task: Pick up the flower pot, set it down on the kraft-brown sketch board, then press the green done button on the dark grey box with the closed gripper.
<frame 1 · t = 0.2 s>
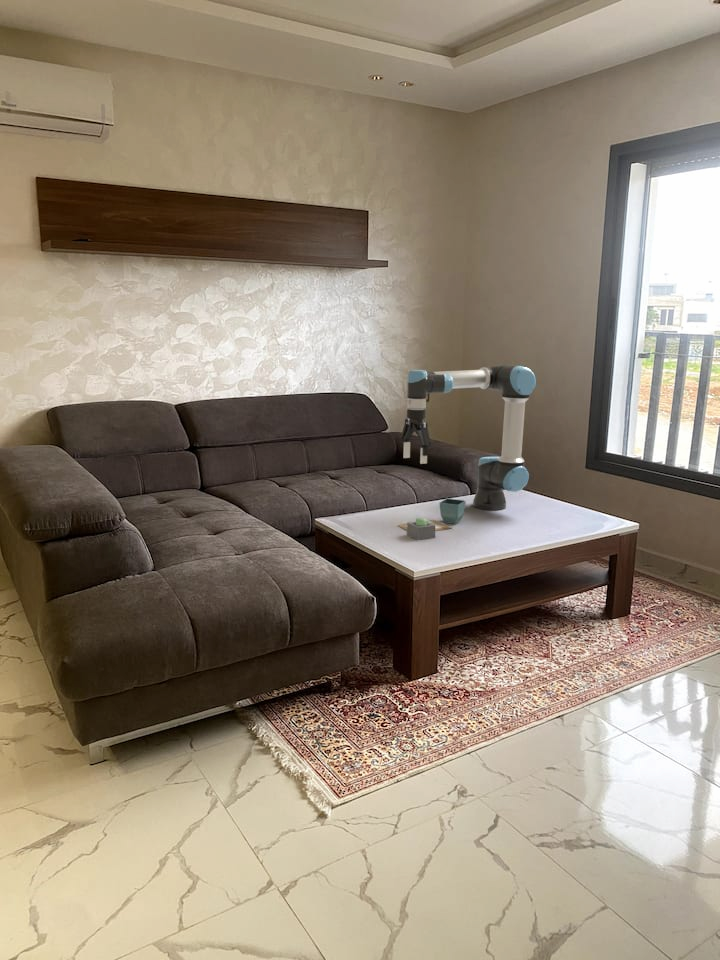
hand: (414, 460, 307), 27 cm above the table, fingers open, 13 cm apart
done button: (421, 525, 296), point 5 cm above the table, slide at 0.0 cm
sketch board: (424, 527, 310), on the table
flower pot: (451, 522, 319), on the table
button box: (420, 536, 297), on the table
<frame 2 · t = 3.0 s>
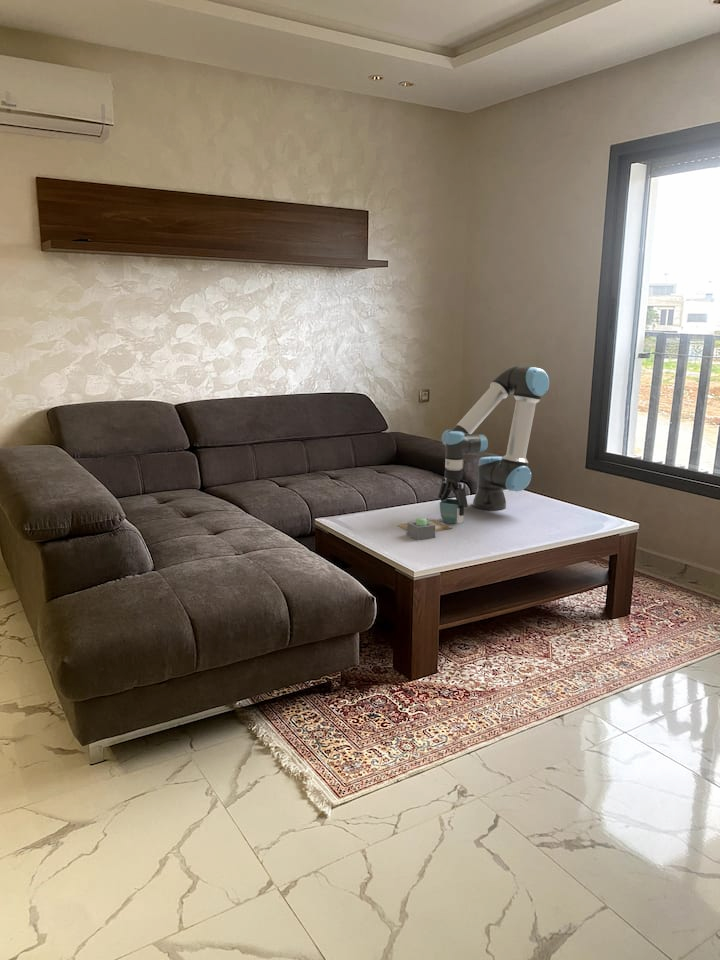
hand: (451, 519, 318), 1 cm above the table, fingers closed on flower pot, 11 cm apart
flower pot: (451, 522, 318), on the table, touching gripper
everything else where it was.
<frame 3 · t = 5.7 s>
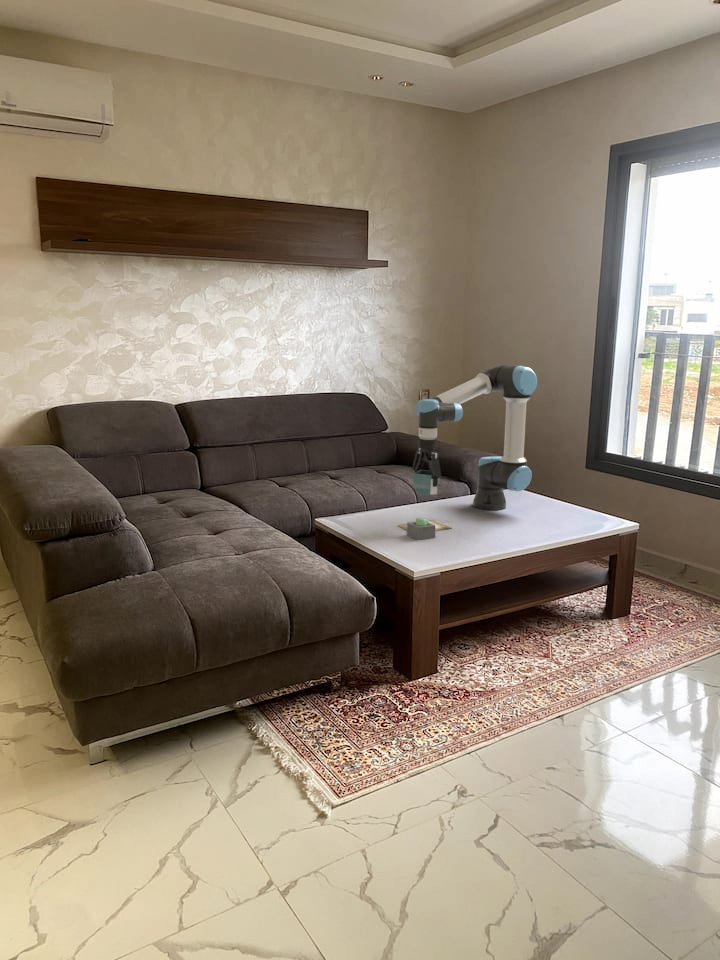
hand: (425, 491, 307), 15 cm above the table, fingers closed on flower pot, 11 cm apart
flower pot: (425, 494, 307), point 14 cm above the table, touching gripper
everything else where it was.
when the fingers open (3 cm above the table, at t = 8.5 s): flower pot moves 2 cm, resting on sketch board.
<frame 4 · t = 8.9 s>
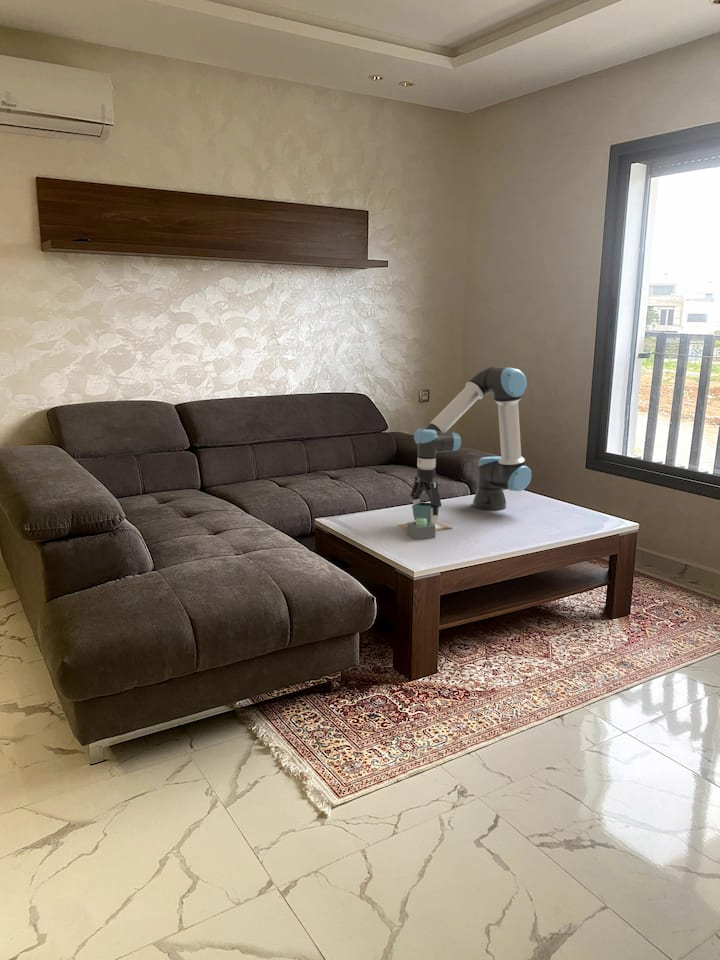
hand: (424, 518, 309), 4 cm above the table, fingers open, 13 cm apart
flower pot: (425, 526, 308), point 1 cm above the table, touching gripper, sketch board
everything else where it was.
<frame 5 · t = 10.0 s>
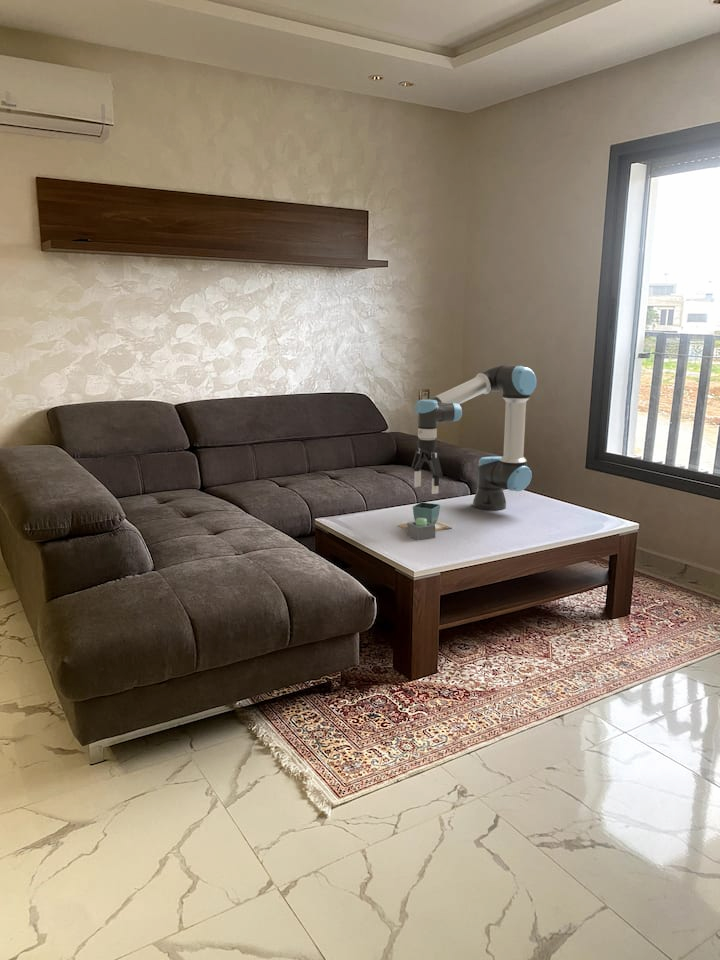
hand: (426, 490, 306), 16 cm above the table, fingers open, 13 cm apart
flower pot: (425, 527, 308), resting on sketch board
everything else where it was.
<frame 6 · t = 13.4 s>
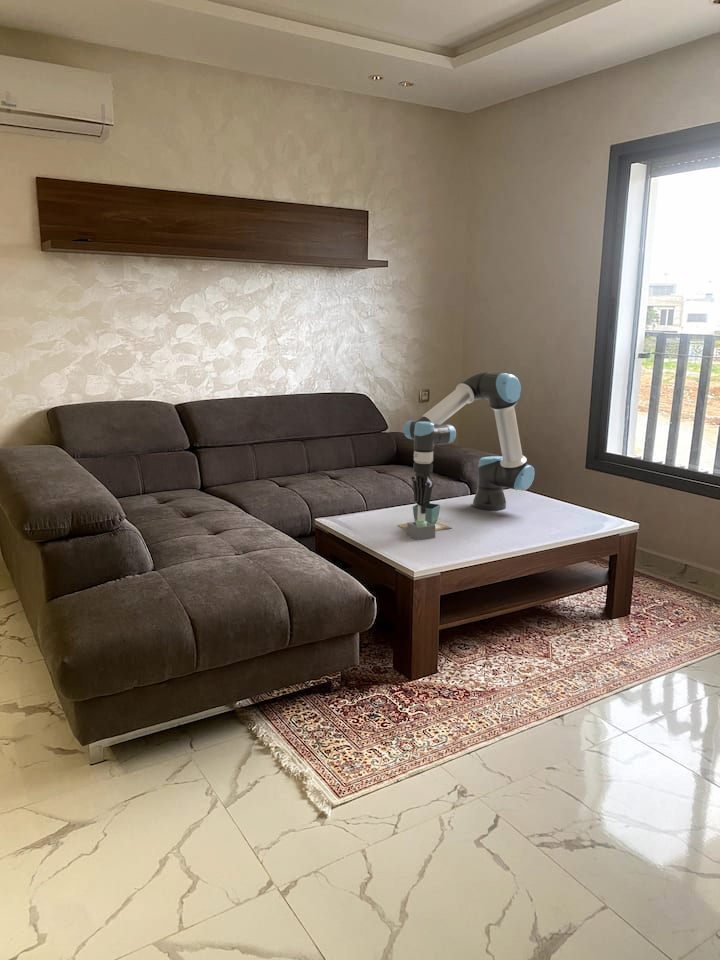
hand: (421, 520, 296), 6 cm above the table, fingers closed
done button: (421, 527, 296), point 4 cm above the table, slide at 0.9 cm, touching gripper
everything else where it was.
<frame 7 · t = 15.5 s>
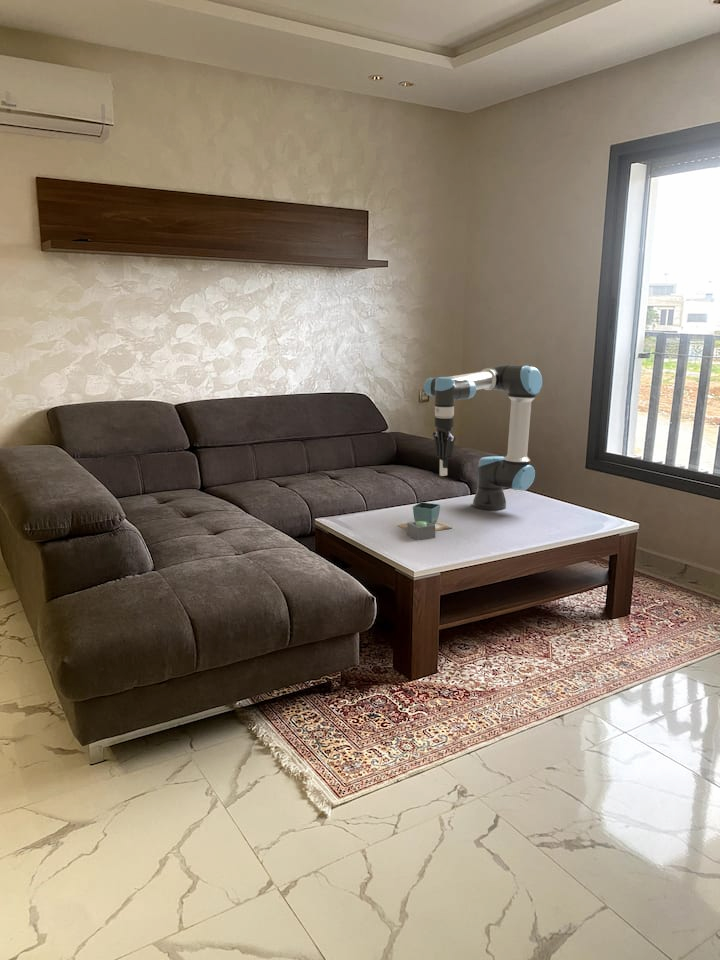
hand: (443, 475, 301), 23 cm above the table, fingers closed
done button: (421, 528, 296), point 3 cm above the table, slide at 1.3 cm
everything else where it was.
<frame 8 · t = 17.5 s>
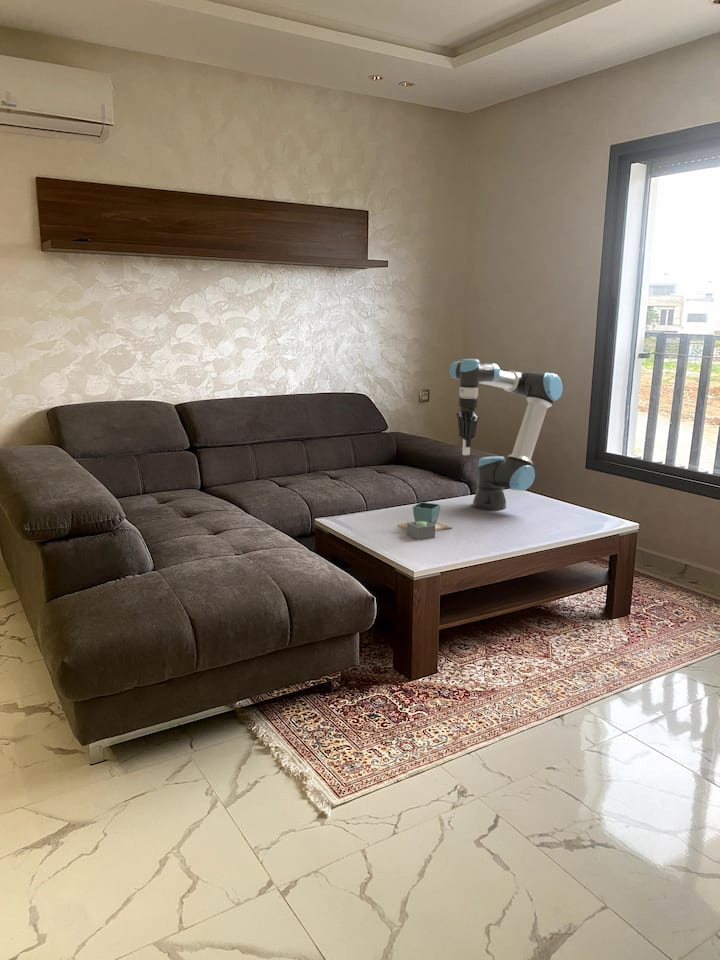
hand: (466, 454, 310), 29 cm above the table, fingers closed
nothing on the table moved.
at the end: flower pot inside the target area on the sketch board (1.5 cm from its centre), point 0.5 cm above the sketch board's base; flower pot tilted 0°; done button slide at 1.3 cm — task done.
